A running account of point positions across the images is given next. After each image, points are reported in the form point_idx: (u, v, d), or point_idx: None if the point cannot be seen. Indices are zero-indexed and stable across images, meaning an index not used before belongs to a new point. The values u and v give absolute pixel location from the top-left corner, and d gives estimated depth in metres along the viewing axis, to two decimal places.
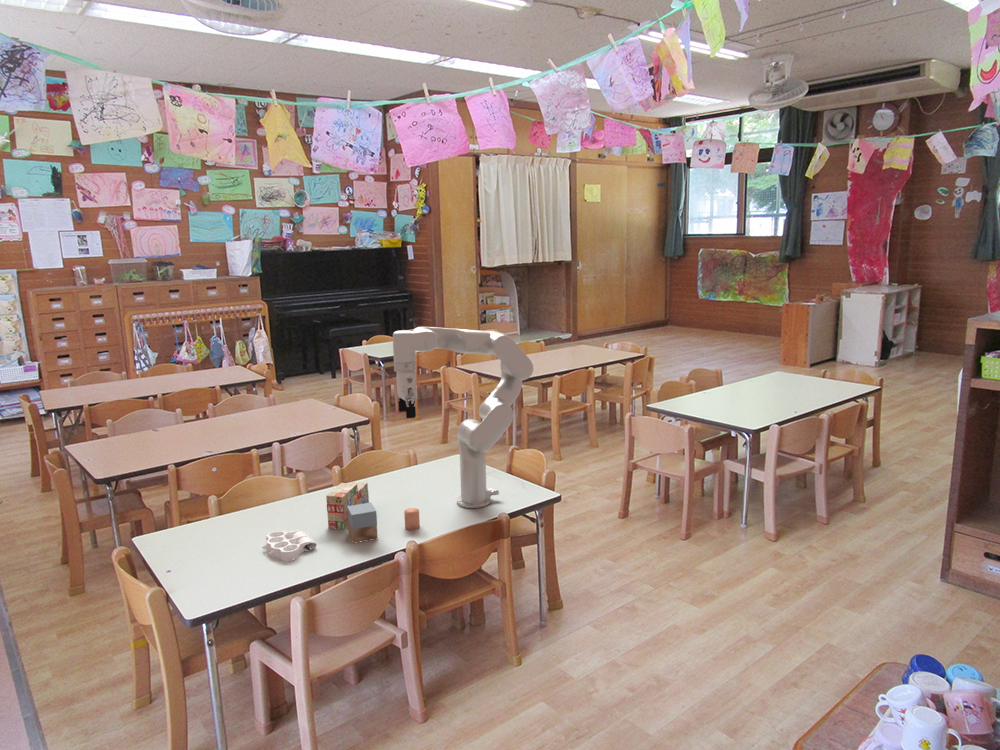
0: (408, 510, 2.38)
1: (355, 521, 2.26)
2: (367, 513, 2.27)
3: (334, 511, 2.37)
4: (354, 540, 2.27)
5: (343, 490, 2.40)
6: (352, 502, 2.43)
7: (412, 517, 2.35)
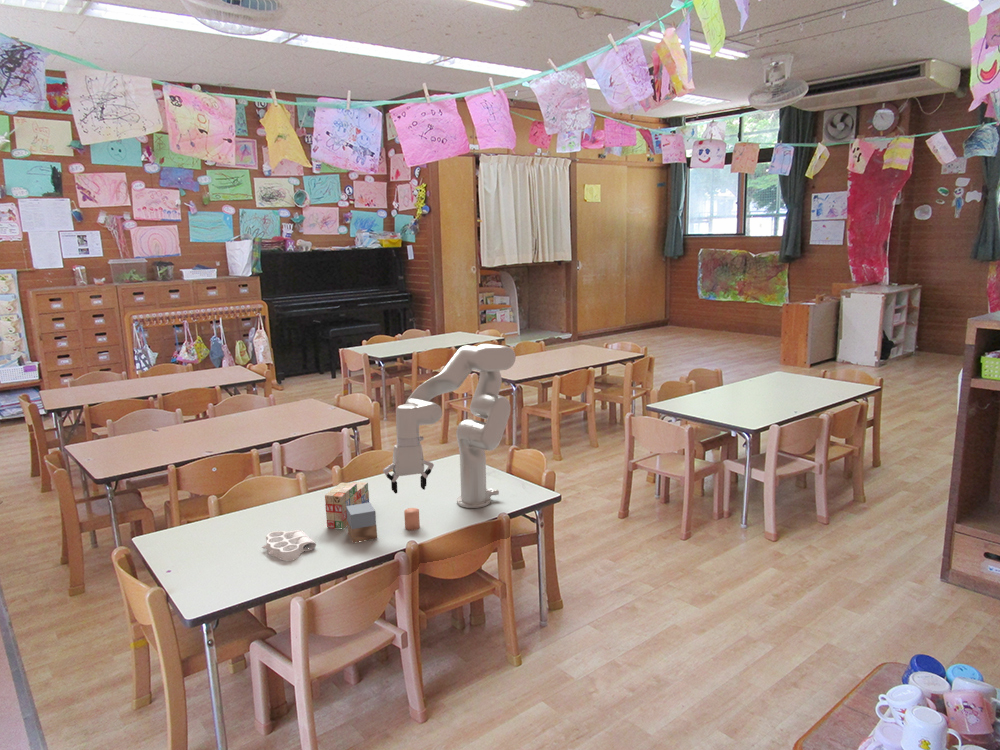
0: (408, 510, 2.38)
1: (354, 521, 2.26)
2: (366, 512, 2.27)
3: (332, 510, 2.38)
4: (354, 540, 2.27)
5: (342, 490, 2.41)
6: (351, 502, 2.43)
7: (412, 517, 2.35)
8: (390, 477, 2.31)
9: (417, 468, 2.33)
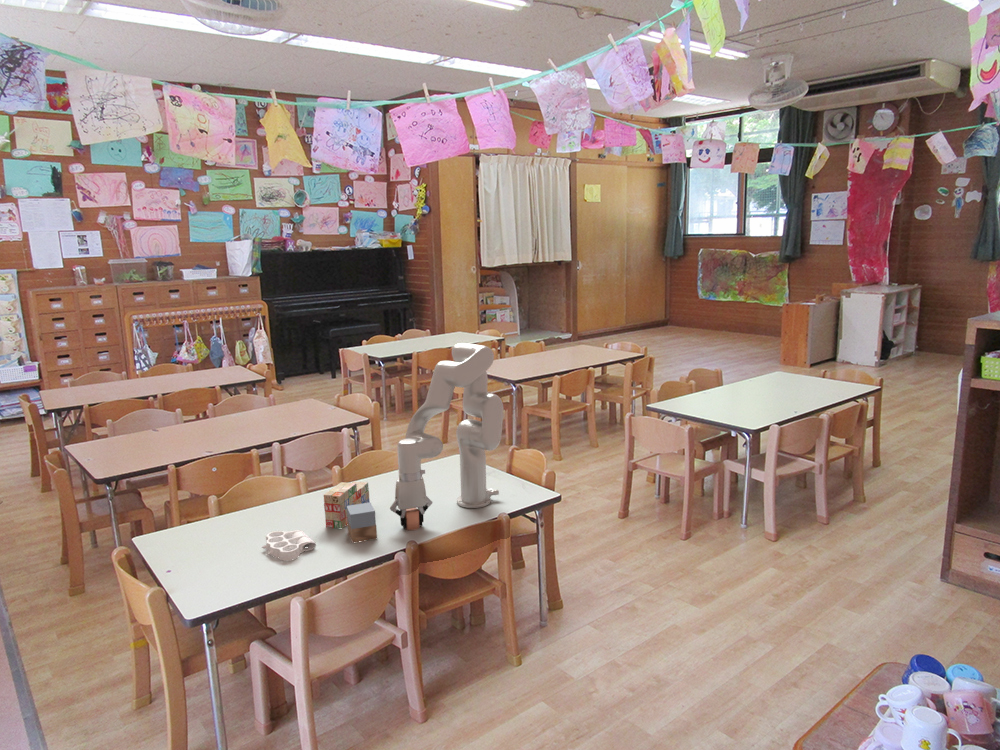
0: (408, 510, 2.38)
1: (354, 521, 2.26)
2: (366, 512, 2.27)
3: (331, 510, 2.38)
4: (354, 540, 2.27)
5: (341, 489, 2.41)
6: (350, 501, 2.44)
7: (412, 517, 2.35)
8: (399, 513, 2.35)
9: (419, 501, 2.36)
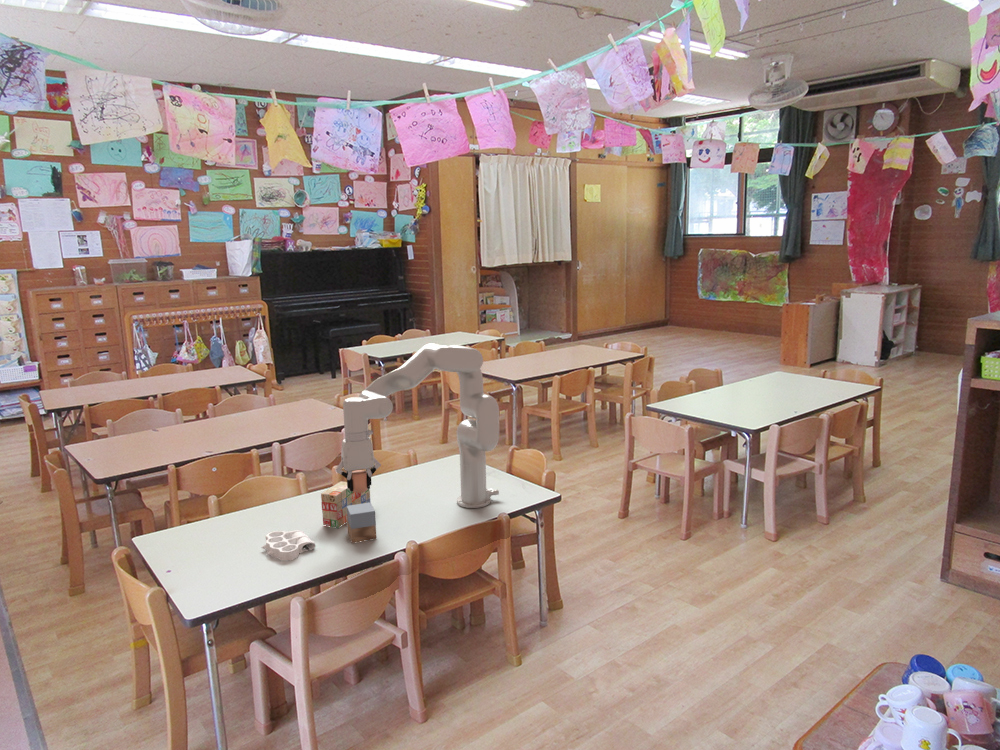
0: (355, 472, 2.28)
1: (354, 521, 2.26)
2: (366, 512, 2.27)
3: (328, 509, 2.39)
4: (353, 540, 2.27)
5: (339, 489, 2.42)
6: (349, 501, 2.44)
7: (358, 479, 2.26)
8: (345, 475, 2.25)
9: (367, 463, 2.26)
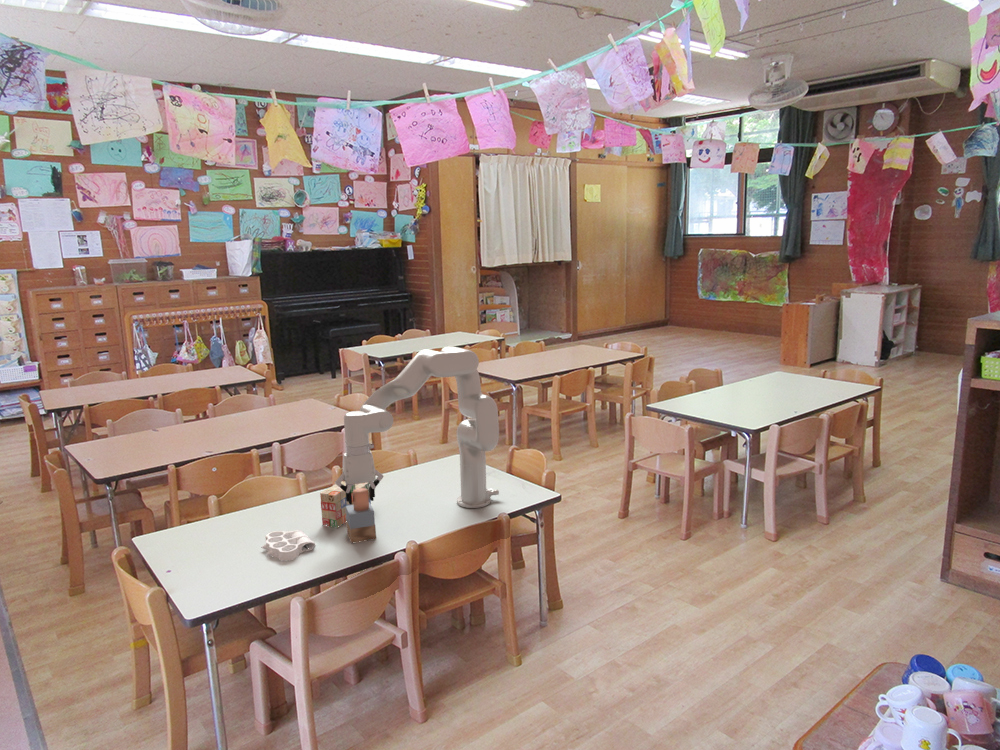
0: (357, 490, 2.29)
1: (353, 521, 2.26)
2: (365, 512, 2.27)
3: (327, 509, 2.39)
4: (352, 540, 2.27)
5: (338, 488, 2.42)
6: None
7: (360, 498, 2.27)
8: (344, 488, 2.26)
9: (368, 476, 2.27)
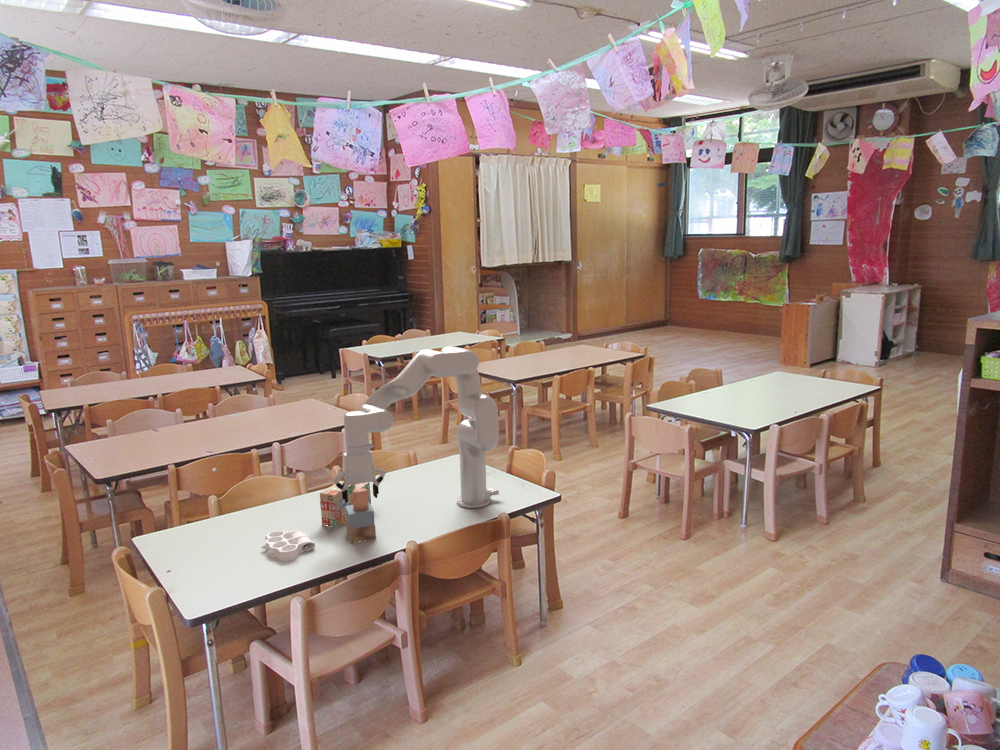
0: (356, 490, 2.30)
1: (353, 521, 2.26)
2: (365, 512, 2.27)
3: (326, 508, 2.39)
4: (352, 540, 2.27)
5: (338, 488, 2.42)
6: (348, 501, 2.44)
7: (360, 498, 2.27)
8: (340, 486, 2.25)
9: (368, 476, 2.27)
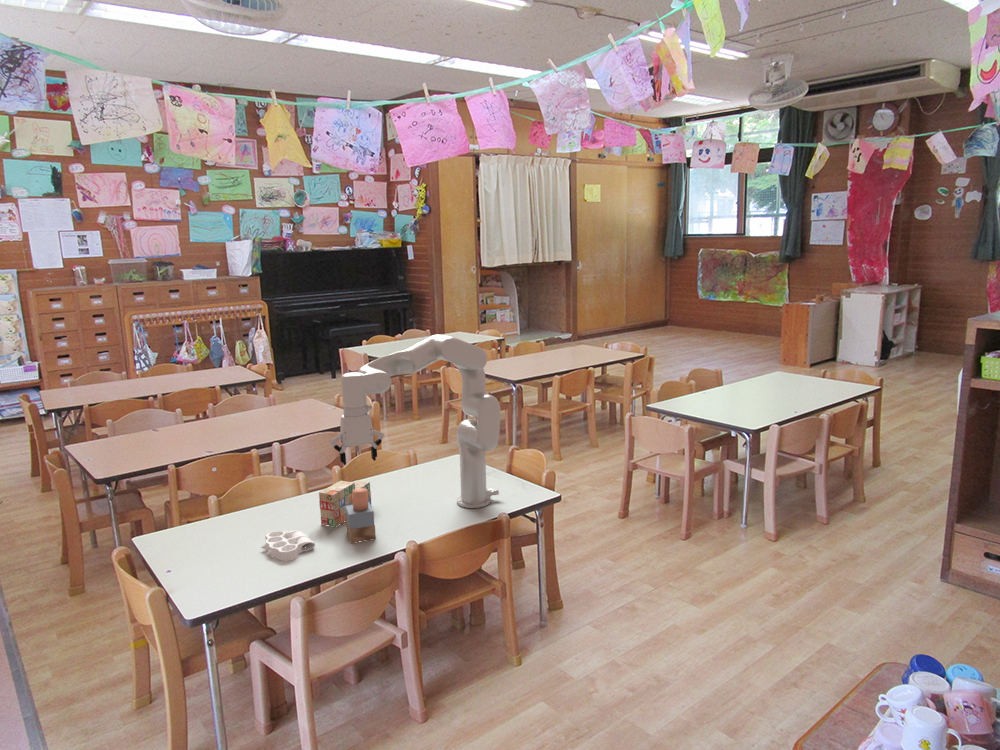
0: (356, 490, 2.30)
1: (352, 521, 2.26)
2: (365, 513, 2.27)
3: (325, 508, 2.40)
4: (352, 540, 2.27)
5: (337, 488, 2.42)
6: (347, 500, 2.45)
7: (360, 497, 2.27)
8: (338, 448, 2.23)
9: (366, 438, 2.25)
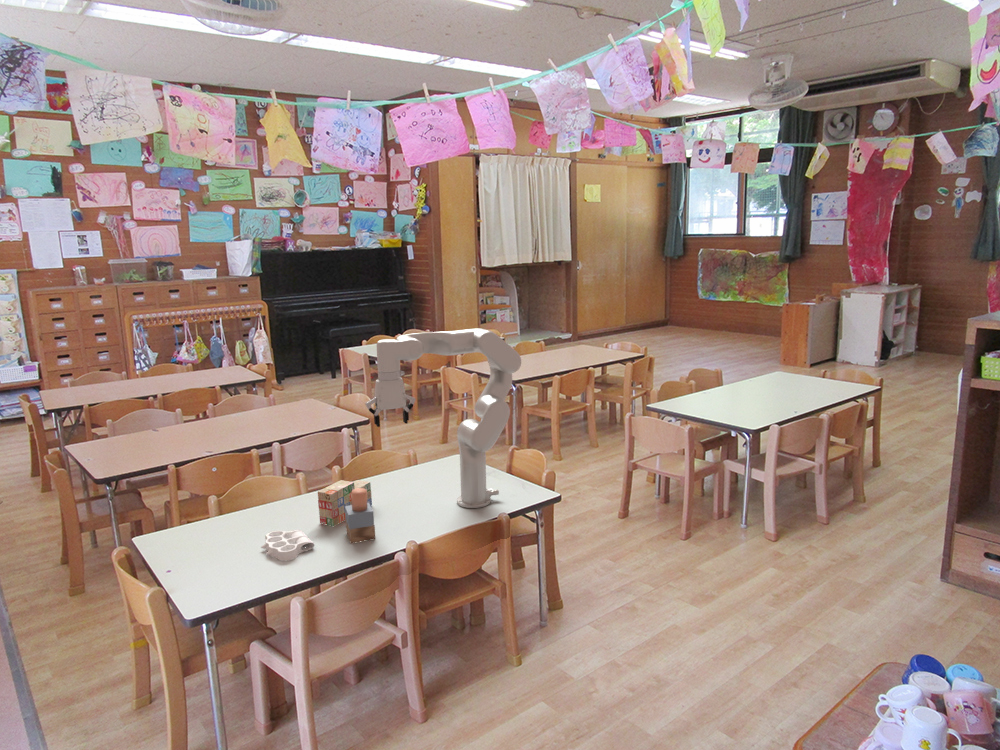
0: (355, 491, 2.28)
1: (352, 521, 2.26)
2: (364, 513, 2.27)
3: (324, 507, 2.40)
4: (352, 540, 2.27)
5: (336, 487, 2.43)
6: (346, 500, 2.45)
7: (363, 498, 2.27)
8: (372, 411, 2.35)
9: (399, 402, 2.37)
